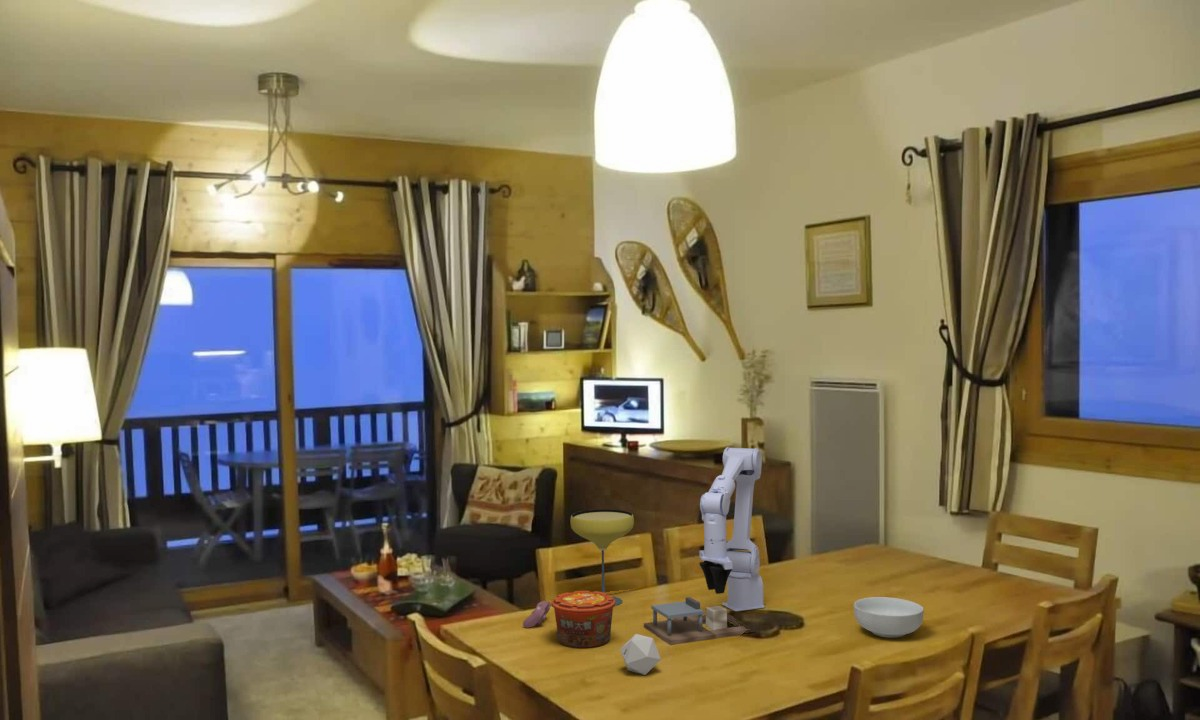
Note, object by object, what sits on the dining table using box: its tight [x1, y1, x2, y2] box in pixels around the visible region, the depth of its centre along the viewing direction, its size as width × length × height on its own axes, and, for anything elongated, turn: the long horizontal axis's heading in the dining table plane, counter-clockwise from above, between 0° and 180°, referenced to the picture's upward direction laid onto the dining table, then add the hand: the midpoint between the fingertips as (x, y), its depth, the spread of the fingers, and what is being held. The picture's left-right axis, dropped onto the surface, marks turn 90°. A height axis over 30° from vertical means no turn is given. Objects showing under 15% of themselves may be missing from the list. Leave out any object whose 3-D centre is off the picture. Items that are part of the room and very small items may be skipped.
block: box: [705, 605, 728, 630], centre depth 253 cm, size 4×4×5 cm
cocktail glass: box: [569, 508, 635, 607], centre depth 279 cm, size 18×18×25 cm
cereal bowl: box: [853, 596, 925, 639], centre depth 246 cm, size 17×17×7 cm
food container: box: [551, 590, 616, 649], centre depth 244 cm, size 16×16×11 cm
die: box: [619, 633, 662, 676], centre depth 221 cm, size 8×9×10 cm
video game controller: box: [522, 600, 552, 629], centre depth 259 cm, size 10×5×7 cm, turn 169°
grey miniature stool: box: [650, 596, 705, 634], centre depth 249 cm, size 10×10×6 cm
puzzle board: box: [643, 612, 750, 646], centre depth 251 cm, size 24×16×1 cm, turn 111°
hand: (716, 591), depth 253 cm, fingers open, 4 cm apart
